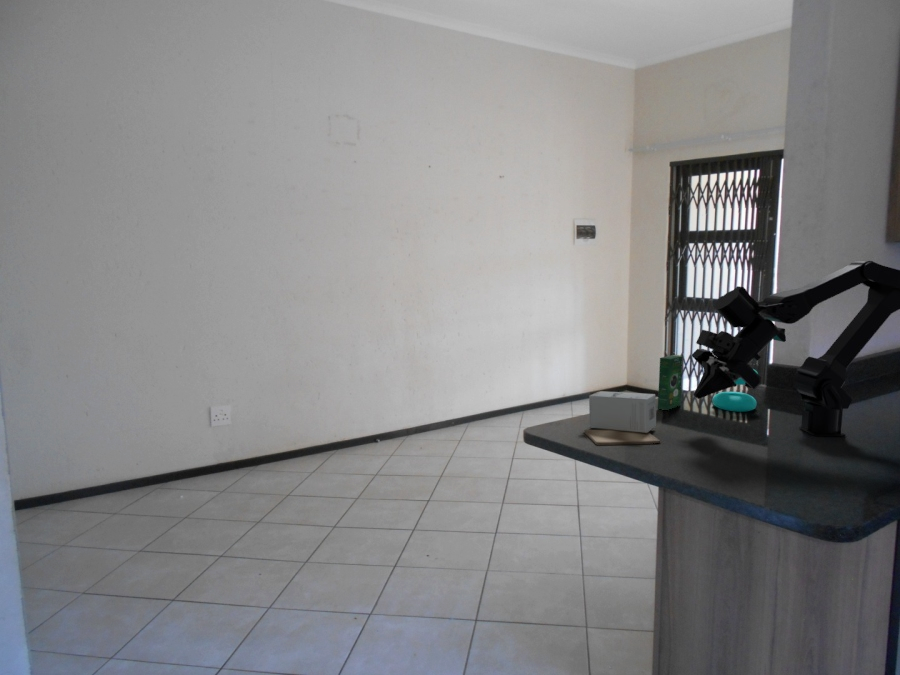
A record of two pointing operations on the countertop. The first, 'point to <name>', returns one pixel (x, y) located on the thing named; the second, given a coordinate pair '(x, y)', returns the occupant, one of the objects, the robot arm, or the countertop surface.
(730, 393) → the donuts
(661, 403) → the coffee box
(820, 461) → the countertop surface
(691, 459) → the countertop surface
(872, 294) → the robot arm
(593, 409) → the supplement box
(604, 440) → the wooden board
